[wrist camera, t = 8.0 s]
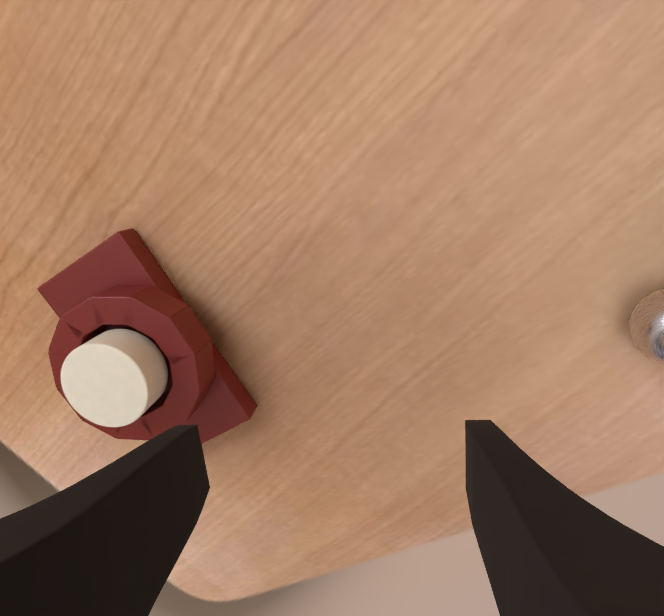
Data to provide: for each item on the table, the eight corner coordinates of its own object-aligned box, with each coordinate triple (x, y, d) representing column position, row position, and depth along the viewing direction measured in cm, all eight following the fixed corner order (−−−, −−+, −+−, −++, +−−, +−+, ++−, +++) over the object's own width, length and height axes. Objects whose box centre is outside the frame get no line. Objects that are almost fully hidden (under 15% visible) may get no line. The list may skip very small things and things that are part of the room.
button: (185, 384, 19) (166, 404, 18) (122, 418, 20) (98, 441, 18) (133, 313, 18) (108, 327, 17) (71, 352, 19) (41, 369, 18)
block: (270, 399, 22) (252, 434, 19) (167, 452, 24) (137, 491, 21) (145, 218, 20) (105, 227, 17) (44, 289, 22) (-9, 308, 19)
